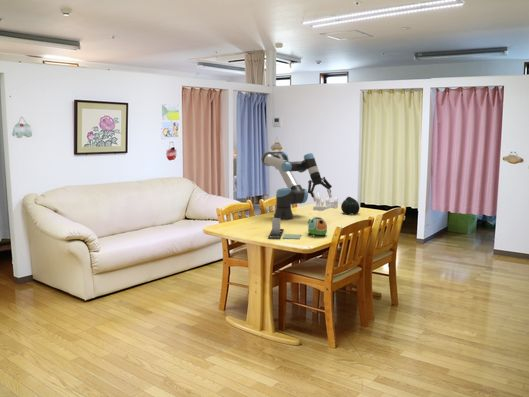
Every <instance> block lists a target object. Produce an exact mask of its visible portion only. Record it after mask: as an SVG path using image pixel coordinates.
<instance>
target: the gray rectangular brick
mask: <svg viewBox="0 0 529 397" xmlns="http://www.w3.org/2000/svg"><path fill="white" fill-rule="evenodd" d="M271 221H272V222H271V230H272V234H280V232H281V231H280V229H281V219H280V218H274V217H272V220H271Z"/></svg>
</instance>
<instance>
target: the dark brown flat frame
mask: <svg viewBox="0 0 529 397" xmlns="http://www.w3.org/2000/svg"><path fill="white" fill-rule="evenodd" d="M284 231H285V230H284V228H280V234H272V229H271V230H270V233H269V235H268V237H267V240H281V239H282V236H283V235H284ZM270 236H271V237H270Z"/></svg>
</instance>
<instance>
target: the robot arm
mask: <svg viewBox="0 0 529 397" xmlns="http://www.w3.org/2000/svg"><path fill="white" fill-rule="evenodd" d="M261 162H262V164H263V165H264V166H265V167H266V166H267V167H274V169H275V170H277V171H278V172H279V174H280V176H281V178H282V180H283V181H284V183H285V185H286V187H283V188H282V187H281V188H279V189H277V190H276V193H275V196H276V197H275V200H276V201H275V202H276V203H275V204H276V205H275V206H276V209H275V212H274V214H273V218H280V221H281V220H284V221H285V220H287V221H288V220H292V219H294V215H293V212H292V205H299V204H305V203H306V202H307V201H308V198H309V194H310V196H311V198H312V199H313V201H314V203H315V202H316V201H317V200H316V197H317V196H316V194H315V192H314V191H315V188H316V186H318V185H321V186H323V187H324V189H327V190H326V191H327V194H328V199H329V198H330V199H331V198H333V196H332V190H331V188H332V187H333V185H331V184H330V183H329V181H328V180H327V179H326V177H325V176H323V177H321V172H319V168H318V164H317V161H316V159H315V156H314V154H313V153H312V152H309V153H306V154H304V156H303V160H302V161H301V160H299V161H298V160H297V161H290V159H289V156H288V154H287V152H285V151H280V150H279V151H267V152H265V153H263V154H262V155H261ZM306 171H308V173H309V176H310V179H309V180H308V181H307V183H308V187H307V189H306V188H303V187H302V185H301V184H299V183H298V182H297V180H296V178H295V176H294V174H293V173H292V172H298V173H304V172H306Z"/></svg>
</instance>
